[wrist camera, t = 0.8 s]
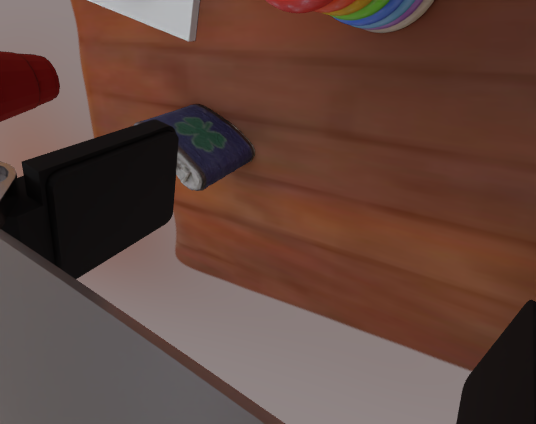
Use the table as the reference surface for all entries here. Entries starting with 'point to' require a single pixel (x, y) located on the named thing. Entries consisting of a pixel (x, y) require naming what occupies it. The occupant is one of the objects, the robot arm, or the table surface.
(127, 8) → the board
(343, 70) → the table surface
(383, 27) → the stacking toy
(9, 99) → the plastic cup
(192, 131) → the flask
